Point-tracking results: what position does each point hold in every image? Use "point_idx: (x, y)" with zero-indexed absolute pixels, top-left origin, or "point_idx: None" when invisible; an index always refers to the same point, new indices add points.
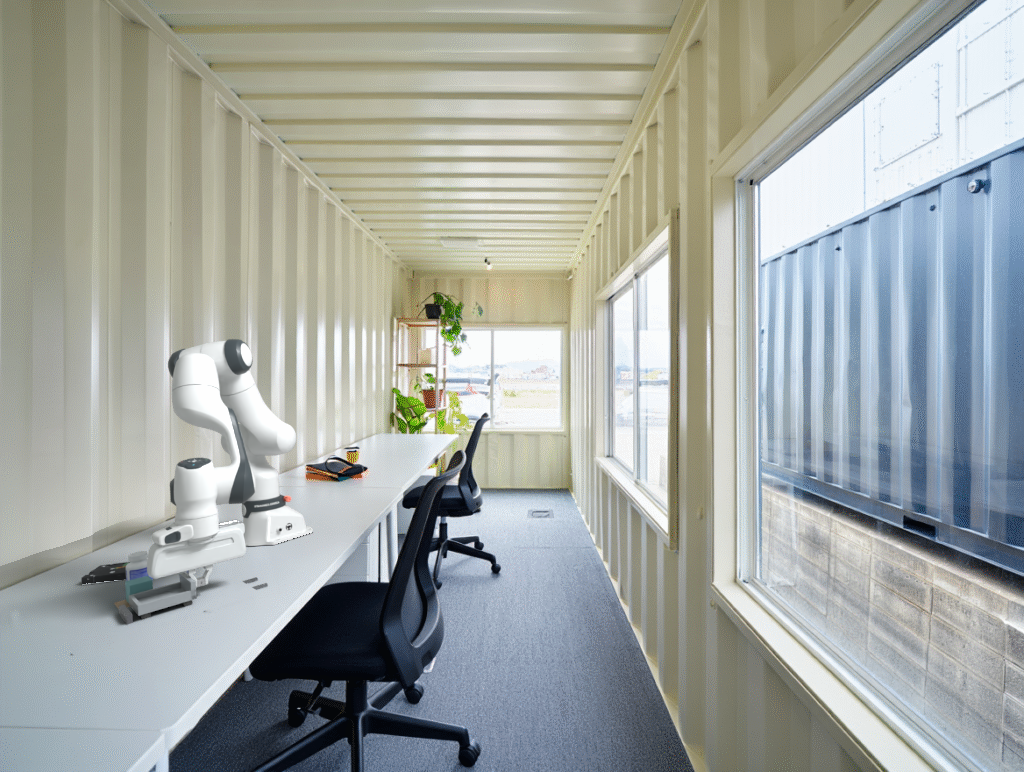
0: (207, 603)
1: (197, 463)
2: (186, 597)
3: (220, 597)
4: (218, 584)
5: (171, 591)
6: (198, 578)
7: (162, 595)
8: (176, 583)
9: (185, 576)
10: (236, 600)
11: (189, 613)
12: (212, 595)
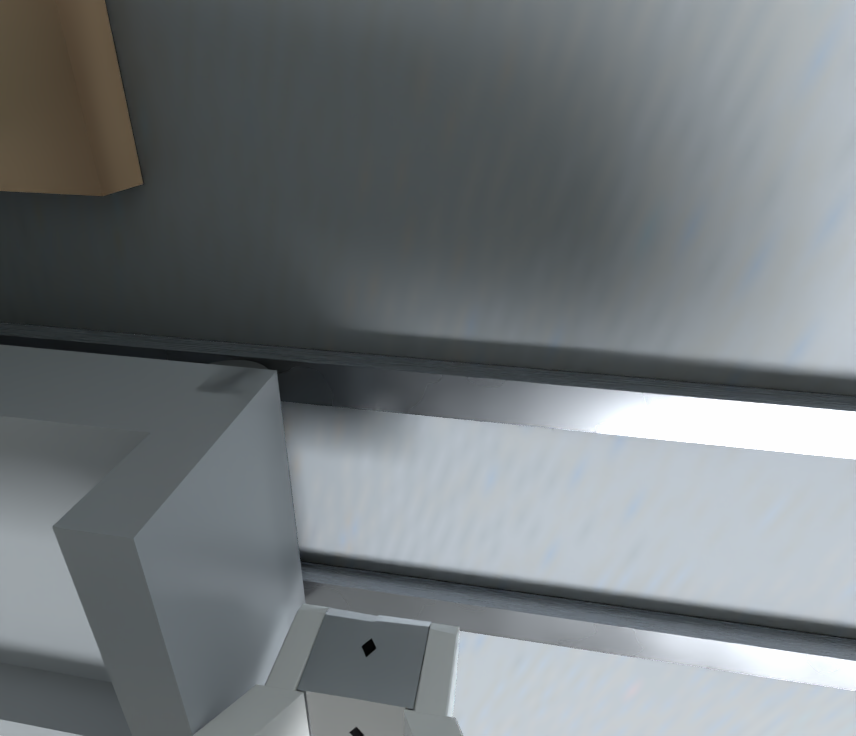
0: (441, 580)
1: None
2: None
3: (574, 559)
4: (829, 118)
5: (98, 468)
6: (339, 722)
7: (16, 500)
8: (108, 462)
9: (148, 714)
10: (616, 705)
11: None
12: (553, 452)
